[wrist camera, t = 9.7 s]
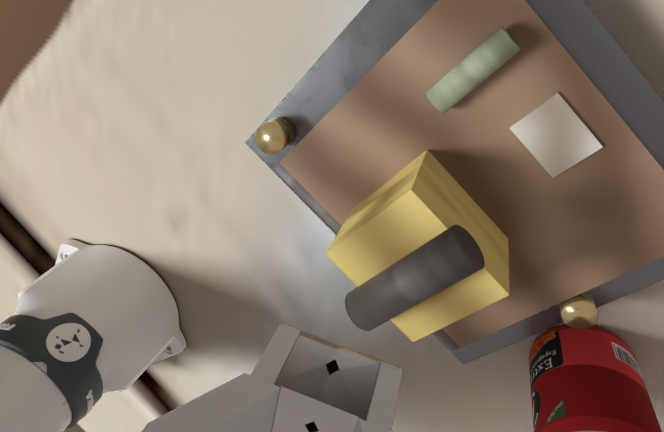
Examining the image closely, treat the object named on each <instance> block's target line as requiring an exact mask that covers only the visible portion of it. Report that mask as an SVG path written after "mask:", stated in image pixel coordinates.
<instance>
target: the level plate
mask: <svg viewBox="0 0 664 432" xmlns="http://www.w3.org/2000/svg"><path fill="white" fill-rule="evenodd" d="M274 169H275V170H276V171H277V172H278V173H279V174H280V175H281V176H282V177H283V179H284V180H285V181H286V182H287V183H288V184H289V185H290V186H291V187H292V188H293V189H294V190H295V191H296V192H297V193H298V194H299V195H300V196H301V197H302V198H303V199H304V200H305V201H306V202H307V203H308V204H309V205H310V206H311V207H312V208H313V209H314V210H315V211H316V212H317V213H318V214H319V215H320V216H321V217H322V218H323V219H324V220H325V221H326V222H327V223H328V224H329V225H330V226H331V227H332V228H333V229H334V230H335V231H336V232H337V233H338V234H337V235H336V237H335V239H334V240H333V242H332V243H331V245H330V247H329V248H328V250H327V252H326V253H325V255H326V256H327V257H328V258H329V259H330V260H331V261H332V262H333V263H334V264H335V265H336V266H337V267H338V268H339V269H340V270H341V271H342V272H343V273H344V274H345V275H346V276H347V277H348V278H349V279H350V280H351V281H352V282H353V283H354V284H355V285H356V286H357V288H355V289H354V290H352V291H351V292H349V293H348V294H347V296H346V299H345V306H346V310H347V313H348V315H349V317H350V319H351V320H352V321H353V323H354V324H355V325H356V326H357V327H359V328H360V329H362V330H365V331H370V330H372V329H374V328H376V327H377V326H379V325H381V324H383V323H385V322H387V321H388V320H391V321H392V322H393V323H394V324H395V325H396V326H397V327H398V328H399V329H400V330H401V331H402V332H403V333H404V334H405V335H406V336H407V337H408V338H409V339H410V340H411V341H412V342H415V341H417V340H419V339H421V338H423V337H425V336H427V335H429V334H431V333H433V332H435V333H436V334H437V335H438V336H439V337H440V338H441V339H442V340H443V341H444V342H445V343H446V344H447V345H448V346H449V347H450V348H451V349H452V350H457V349H459V348H461V347H463V346H465V345H467V344H470V343H472V342H474V341H476V340H479V339H481V338H483V337H485V336H487V335H490V334H492V333H494V332H496V331H499V330H501V329H503V328H505V327H508V326H510V325H512V324H514V323H516V322H519V321H521V320H523V319H525V318H528V317H530V316H532V315H534V314H537V313H539V312H541V311H543V310H546V309H548V308H550V307H552V306H554V305H557V304H559V303H561V302H563V301H566V300H568V299H570V298H572V297H575V296H577V295H579V294H581V293H584V292H586V291H588V290H590V289H592V288H595V287H597V286H599V285H601V284H604V283H606V282H608V281H610V280H613V279H615V278H617V277H619V276H622V275H624V274H626V273H628V272H630V271H633V270H635V269H637V268H639V267H642V266H644V265H646V264H648V263H651V262H653V261H655V260H657V259H659V258H662V257H664V169H663V168H662V167H661V166H660V164H659V163H658V162H657V161H656V160H655V158H654V157H653V156H652V155H651V153H650V152H649V151H648V150H647V149H646V147H645V146H644V145H643V144H642V142H641V141H640V140H639V139H638V138H637V136H636V135H635V134H634V133H633V131H632V130H631V129H630V128H629V126H628V125H627V124H626V123H625V122H624V120H623V119H622V118H621V117H620V115H619V114H618V113H617V112H616V111H615V109H614V108H613V107H612V106H611V104H610V103H609V102H608V101H607V100H606V98H605V97H604V96H603V95H602V93H601V92H600V91H599V90H598V89H597V87H596V86H595V85H594V84H593V82H592V81H591V80H590V79H589V77H588V76H587V75H586V74H585V73H584V71H583V70H582V69H581V68H580V66H579V65H578V64H577V63H576V62H575V60H574V59H573V58H572V57H571V55H570V54H569V53H568V52H567V51H566V49H565V48H564V47H563V46H562V44H561V43H560V42H559V41H558V39H557V38H556V37H555V36H554V35H553V33H552V32H551V31H550V30H549V28H548V27H547V26H546V25H545V24H544V22H543V21H542V20H541V19H540V17H539V16H538V15H537V14H536V13H535V11H534V10H533V9H532V8H531V6H530V5H529V4H528V3H527V1H526V0H438V1H437V2H436V3H435V4H434V5H433V6H432V7H431V8H430V10H429V11H428V12H427V13H426V14H425V15H424V16H423V17H422V18H421V19H420V20H419V21H418V22H417V23H416V24H415V25H414V26H413V27H412V28H411V29H410V30H409V31H408V32H407V33H406V34H405V35H404V36H403V37H402V38H401V39H400V40H399V41H398V42H397V43H396V44H395V45H394V46H393V47H392V48H391V49H390V50H389V51H388V52H387V53H386V54H385V55H384V56H383V57H382V58H381V59H380V61H379V62H378V63H377V64H376V65H375V66H374V67H373V68H372V69H371V70H370V71H369V72H368V73H367V74H366V75H365V76H364V77H363V78H362V79H361V80H360V81H359V82H358V83H357V84H356V85H355V86H354V87H353V88H352V89H351V90H350V91H349V92H348V93H347V94H346V95H345V96H344V97H343V98H342V99H341V100H340V101H339V102H338V103H337V104H336V105H335V106H334V107H333V108H332V109H331V110H330V111H329V113H328V114H327V115H326V116H325V117H324V118H323V119H322V120H321V121H320V122H319V123H318V124H317V125H316V126H315V127H314V128H313V129H312V130H311V131H310V132H309V133H308V134H307V135H306V136H305V137H304V138H303V139H302V140H301V141H300V142H299V143H298V144H297V145H296V146H295V147H294V148H293V149H292V150H291V151H290V152H289V153H288V154H287V155H286V156H285V157H284V158H283V159H282V160H281V161H280V162H279V163H278V164H277V166H276V167H275V168H274Z"/></svg>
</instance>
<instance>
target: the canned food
mask: <svg viewBox="0 0 664 432" xmlns="http://www.w3.org/2000/svg"><path fill="white" fill-rule="evenodd" d="M529 368H530V382H531V397H532V411H533V426H534V432H662V431H661V428H660V426H659V423H658V420H657V417H656V414H655V412H654V409H653V406H652V403H651V400H650V398H649V395H648V392H647V389H646V386H645V384H644V381H643V378H642V375H641V372H640V369H639V367H638V364H637V361H636V358H635V356H634V354H633V353H632V351H631V350H630V348H629V347H628V346H627V345H626V344H625V343H624V342H623V341H622V340H621V339H620V338H619V337H618V336H616V335H615V334H613V333H611V332H610V331H607V330H605V329H603V328H600V327H597V326H592V327H589V328H586V329H575V328H571V327H569V326H567V325H566V324H564V325H559V326H556V327H552V328H550V329H548V330H546V331H544V332H543V333H542V334H540V335H539V336H538V337H537V338H536V340H535V341H534V343H533V345H532V348H531V350H530V354H529Z"/></svg>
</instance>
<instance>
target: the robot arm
mask: <svg viewBox="0 0 664 432" xmlns="http://www.w3.org/2000/svg"><path fill="white" fill-rule="evenodd" d="M18 296H19V299H18V301H17V309H16V313H15V315H14V316H11V317H9V318H8V319H6V320H5V321H4V322H2V323H1V324H0V432H63V431H64V430H65V429H68V428H71V427H73V426H74V425H75V424H76V423H77V422H78V421H79V420H80V419H82V418H83V417H85V416H86V415H87V414H88V413H89V411H90V410H91V409H92V407H93V406H94V405H95V404H96V402H97V401H98V400H99V399H100V398H101V396H102V394H103V393H105V392H110V391H114V392H115V393H120V392H121V391H123V390H124V389H125V390H126V389H127V388H129V387H130V386H131V385H132V384H133V383H134V382H135V381H136V379H137V378H138V377H139V376H140V375H141V374H142V373H143V372H144V371H145V370H146V369H147V368H148V367H149V366H150V364H153V363H155V362H158V361H161V360H163V359H166V358H169V357H171V356H174V355H177V354H179V353H181V352H182V351H183V350H184V349H185V348H186V341H185V338H184V336H183V334H182V332H181V330H180V327H179V315H178V309H177V306H176V303H175V300H174V298H173V296H172V294H171V292H170V290H169V289H168V287H167V286H166V284H165V283H164V282H163V281H162V279H161V278H160V277H159V276H158V275H157V274H156V273H155V272H154V271H153V270H152V269H151V268H150V267H149V266H148V265H147V264H145V263H144V262H143V261H141V260H140V259H138V258H137V257H135V256H134V255H132V254H130V253H128V252H126V251H124V250H121V249H119V248H116V247H112V246H106V245H87V244H84V243H82V242H79V241H76V240H73V239H68V240H66V241H65V242H64V243H62V244H61V245H60V248H59V252H58V256H57V260H56V264H55V266H54V267H53V268H51V269H50V270H49V271H47V272H46V273H44V274H43V275H42V276H40V277H39V278H38V279H36V280H35V281H34V282H32V283H31V284H30V285H28V286H27V287H26V288H24V289H23V290H22V291H21V292H20V293H19V294H18ZM401 377H402V368H399V367H397V366H394V365H391V364H388V363H386V362H383V361H381V362H380V360H378V359H375V358H373V357H370V356H367V355H364V354H361V353H359V352H356V351H353V350H350V349H348V348H345V347H342V346H338V345H335V344H333V343H331V342H328V341H326V340H323V339H321V338H318V337H316V336H313V335H311V334H308V333H306V332H303V331H300V330H298V329H295V328H293V327H290V326H287V325H285V324H281V325H280V326H279V327H278V328H277V330H276V332H275V333H274V335H273V337H272V339H271V340H270V342H269V344H268V346H267V347H266V349H265V351H264V353H263V354H262V356H261V358H260V360H259V361H258V363H257V365H256V367H255V368H254V370H253V372H252V374H251V375H249V374H246V373H244V374H242V375H240V376H238V377H236V378H234V379H232V380H230V381H228V382H227V383H225V384H223V385H221V386H219V387H217V388H215V389H213V390H211V391H209V392H207V393H205V394H203V395H201V396H199V397H198V398H196V399H194V400H192V401H190V402H188V403H186V404H184V405H182V406H180V407H178V408H176V409H174V410H172V411H170V412H169V413H167V414H165V415H163V416H161V417H159V418H157V419H155V420H153V421H151V422H149V423H148V424H147V425H146V427H145V428H144V429H143V431H142V432H392V431H391V430H392V424H393V419H394V414H395V409H396V403H397V398H398V393H399V388H400V383H401Z"/></svg>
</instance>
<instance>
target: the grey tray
mask: <svg viewBox="0 0 664 432" xmlns="http://www.w3.org/2000/svg"><path fill="white" fill-rule="evenodd" d="M437 1H438V0H370V1H369V2H368V3H367V4H366V5H365V6H364V8H363V9H362V10H361V11H360V12H359V13H358V14H357V16H356V17H355V18H354V19H353V20H352V21H351V22H350V24H349V25H348V26H347V27H346V28H345V29H344V30H343V32H342V33H341V34H340V35H339V36H338V37H337V38H336V40H335V41H334V42H333V43H332V44H331V45H330V46H329V48H328V49H327V50H326V51H325V52H324V53H323V54H322V56H321V57H320V58H319V59H318V60H317V61H316V62H315V64H314V65H313V66H312V67H311V68H310V69H309V70H308V72H307V73H306V74H305V75H304V76H303V77H302V78H301V80H300V81H299V82H298V83H297V84H296V85H295V86H294V88H293V89H292V90H291V91H290V92H289V93H288V94H287V96H286V97H285V98H284V99H283V100H282V101H281V102H280V104H279V105H278V106H277V107H276V108H275V109H274V110H273V112H272V113H271V114H270V115H269V116H268V117H267V118H266V120H265V121H264V122H263V123H262V124H261V125H260V126H259V128H258V129H257V130H256V131H255V132H254V133H253V134H252V136H251V137H250V138H249V139H248V140H247V141H246V142H245V143H246V144H247V145H248V146H249V147H250V148H251V149H252V150H253V151H254V152H255V153H256V154H257V155H258V156H259V157H260V158H261V159H262V160H263V161H264V162H265V163H266V164H267V165H268V166H269V167H270V168H271V169H272V170H273V171H274V172H275V173H276V174H277V175H278V177H279V178H280V179H281V180H282V181H283V182H284V183H285V184H286V185H287V186H288V187H289V188H290V189H291V190H292V191H293V192H294V193H295V194H296V195H297V196H298V197H299V198H300V199H301V200H302V201H303V202H304V203H305V204H306V205H307V206H308V207H309V208H310V209H311V210H312V211H313V212H314V213H315V214H316V215H317V216H318V217H319V218H320V219H321V220H322V221H323V222H324V223H325V224H326V225H327V226H328V227H329V228H330V229H331V230H332V231H333V232H334V233H335V234H336V235H337V234H338V233H337V232H336V231H335V230H334V229H333V228H332V227H331V226H330V225H329V224H328V223H327V222H326V221H325V220H324V219H323V218H322V217H321V216H320V215H319V214H318V213H317V212H316V211H315V210H314V209H313V208H312V207H311V206H310V205H309V204H308V203H307V202H306V201H305V200H304V199H303V198H302V197H301V196H300V195H299V194H298V193H297V192H296V191H295V190H294V189H293V188H292V187H291V186H290V185H289V184H288V183H287V182H286V181H285V180H284V179H283V177H282V176H281V175H280V174H279V173H278V172H277V171H276V170H275V169H274V168H275V167H276V166H277V164H278V163H279V162H280V161H281V160H282V159H283V158H284V157H285V156H286V155H287V154H288V153H289V152H290V151H291V150H292V149H293V148H294V147H295V146H296V145H297V144H298V143H299V142H300V141H301V140H302V139H303V138H304V137H305V136H306V135H307V134H308V133H309V132H310V131H311V130H312V129H313V128H314V127H315V126H316V125H317V124H318V123H319V122H320V121H321V120H322V119H323V118H324V117H325V116H326V115H327V114H328V113H329V111H330V110H331V109H332V108H333V107H334V106H335V105H336V104H337V103H338V102H339V101H340V100H341V99H342V98H343V97H344V96H345V95H346V94H347V93H348V92H349V91H350V90H351V89H352V88H353V87H354V86H355V85H356V84H357V83H358V82H359V81H360V80H361V79H362V78H363V77H364V76H365V75H366V74H367V73H368V72H369V71H370V70H371V69H372V68H373V67H374V66H375V65H376V64H377V63H378V62H379V61H380V59H381V58H382V57H383V56H384V55H385V54H386V53H387V52H388V51H389V50H390V49H391V48H392V47H393V46H394V45H395V44H396V43H397V42H398V41H399V40H400V39H401V38H402V37H403V36H404V35H405V34H406V33H407V32H408V31H409V30H410V29H411V28H412V27H413V26H414V25H415V24H416V23H417V22H418V21H419V20H420V19H421V18H422V17H423V16H424V15H425V14H426V13H427V12H428V11H429V10H430V8H431V7H432V6H433V5H434V4H435V3H436V2H437ZM526 1H527V3H528V4H529V5H530V6H531V8H532V9H533V10H534V11H535V13H536V14H537V15H538V16H539V17H540V19H541V20H542V21H543V22H544V24H545V25H546V26H547V27H548V28H549V30H550V31H551V32H552V33H553V35H554V36H555V37H556V38H557V39H558V41H559V42H560V43H561V44H562V46H563V47H564V48H565V49H566V51H567V52H568V53H569V54H570V55H571V57H572V58H573V59H574V60H575V62H576V63H577V64H578V65H579V66H580V68H581V69H582V70H583V71H584V73H585V74H586V75H587V76H588V77H589V79H590V80H591V81H592V82H593V84H594V85H595V86H596V87H597V89H598V90H599V91H600V92H601V93H602V95H603V96H604V97H605V98H606V100H607V101H608V102H609V103H610V104H611V106H612V107H613V108H614V109H615V111H616V112H617V113H618V114H619V115H620V117H621V118H622V119H623V120H624V122H625V123H626V124H627V125H628V126H629V128H630V129H631V130H632V131H633V133H634V134H635V135H636V136H637V138H638V139H639V140H640V141H641V142H642V144H643V145H644V146H645V147H646V149H647V150H648V151H649V152H650V153H651V155H652V156H653V157H654V158H655V160H656V161H657V162H658V163H659V164H660V166H661V167H662V168H663V169H664V101H663V100H662V99H661V98H660V96H659V95H658V94H657V93H656V91H655V90H654V89H653V87H652V86H651V85H650V84H649V82H648V81H647V80H646V79H645V77H644V76H643V75H642V74H641V72H640V71H639V70H638V69H637V67H636V66H635V65H634V64H633V62H632V61H631V60H630V58H629V57H628V56H627V55H626V53H625V52H624V51H623V50H622V48H621V47H620V46H619V45H618V43H617V42H616V41H615V40H614V38H613V37H612V36H611V34H610V33H609V32H608V31H607V29H606V28H605V27H604V26H603V24H602V23H601V22H600V21H599V19H598V18H597V17H596V16H595V14H594V13H593V12H592V11H591V9H590V8H589V7H588V5H587V4H586V3H585V2H584V0H526ZM662 279H664V257H662V258H659V259H657V260H655V261H653V262H651V263H648V264H646V265H644V266H642V267H639V268H637V269H635V270H633V271H630V272H628V273H626V274H624V275H622V276H619V277H617V278H615V279H613V280H610V281H608V282H606V283H604V284H601V285H599V286H597V287H595V288H592V289H590V290H588V291H586V292H584V293H581V294H579V295H577V296H575V297H572V298H570V299H568V300H566V301H563V302H561V303H559V304H557V305H554V306H552V307H550V308H548V309H546V310H543V311H541V312H539V313H537V314H534V315H532V316H530V317H528V318H525V319H523V320H521V321H519V322H516V323H514V324H512V325H510V326H508V327H505V328H503V329H501V330H499V331H496V332H494V333H492V334H490V335H487V336H485V337H483V338H481V339H479V340H476V341H474V342H472V343H470V344H467V345H465V346H463V347H461V348H459V349H457V350H452V349H451V348H450V347H449V346H448V345H447V344H446V343H445V342H444V341H443V340H442V339H441V338H440V337H439V336H438V335H437V334H436V333H435V332H433V334H434V335H435V336H436V337H437V338H438V339H439V340H440V341H441V342H442V343H443V344H444V345H445V346H446V347H447V348H448V349H449V350H450V351H451V352H452V353H453V354H454V355H455V356H456V357H457V358H458V359H459V360H460V361H461V362H462V363H463V364H466V363H468V362H470V361H473V360H475V359H477V358H480V357H482V356H484V355H487V354H489V353H491V352H494V351H496V350H498V349H501V348H503V347H505V346H508V345H510V344H513V343H515V342H517V341H520V340H522V339H524V338H527V337H529V336H531V335H534V334H536V333H538V332H541V331H543V330H545V329H548V328H550V327H552V326H555V325H557V324H559V323H562V322H564V323H565V324H566V325H567V326H569V327H571V328H575V329H586V328H589V327H592V326H593V325H594V324H595V323H596V322H597V320H598V313H597V309H596V308H597V307H599V306H602V305H604V304H606V303H609V302H611V301H613V300H616V299H618V298H620V297H623V296H625V295H627V294H630V293H632V292H634V291H637V290H639V289H641V288H644V287H646V286H648V285H651V284H653V283H655V282H658V281H660V280H662Z"/></svg>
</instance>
